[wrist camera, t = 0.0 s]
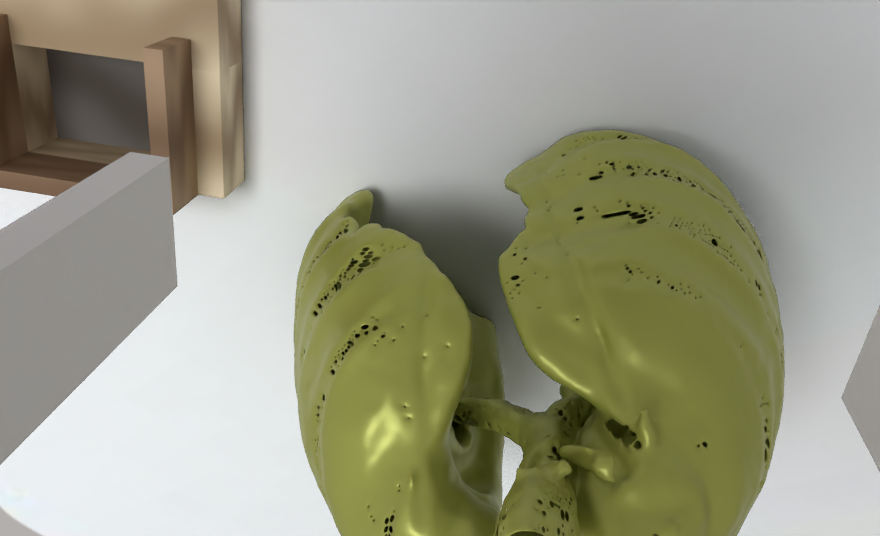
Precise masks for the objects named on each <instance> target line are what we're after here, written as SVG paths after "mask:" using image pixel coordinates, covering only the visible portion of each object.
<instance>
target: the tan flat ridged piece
mask: <svg viewBox="0 0 880 536" xmlns="http://www.w3.org/2000/svg"><path fill="white" fill-rule="evenodd" d="M129 152H135V153H141V154H148V155H154V156H161V157H168V158H169V167H170V182H171V197H172V212H173V215H174V214H175V213H176V212H178V211H179V210H180V209H181V208H183V207H184V206H185V205H186V204H187V203H189V202H190V201H191V200H192V199H194V198H195V197H196V196H197V195H204V196H210V197H217V198H223V199H224V198H225V197H226V196H227V195H229V194H230V193H231V192H232V191H233V190H234V189H235V188H236V187H238V186H239V185H240V184H241V183H242V182H243V181H244V130H243V79H242V28H241V0H0V188H6V189H13V190H19V191H25V192H32V193H38V194H44V195H51V196H58V195H59V194H61V193H63V192H64V191H66V190H68V189H69V188H71V187H73V186H74V185H76V184H78V183H79V182H81V181H83V180H84V179H86V178H88V177H89V176H91V175H93V174H94V173H96V172H98V171H99V170H101V169H103V168H104V167H106V166H108V165H109V164H111V163H113V162H114V161H116V160H118V159H119V158H121V157H123V156H124V155H126V154H128V153H129Z"/></svg>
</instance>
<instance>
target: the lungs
mask: <svg viewBox="0 0 880 536" xmlns="http://www.w3.org/2000/svg"><path fill="white" fill-rule="evenodd" d="M621 139H624V140H621ZM585 159H586V160H585ZM606 163H607V164H606ZM599 164H600V165H599ZM609 164H610V165H609ZM613 164H614V165H613ZM628 164H629V165H630V166H632V168H633V170H632V168H631V169H627V166H628V167H629V165H628ZM614 169H615V170H614ZM599 173H601V175H599ZM655 174H656V175H655ZM601 176H602V177H601ZM504 184H505V187H506V188H507V189H508V190H510V191H513V192H515V193H517V194H519V195H520V197H521V200H522V202H523V203H524V204H525V206H527V208H528V209H529V211H528V213H527V216H526V218H525V227H526V228H525V229H524V230H523V231H522V232H520V233H519V234H518V235H517V237H516V238H515V239H514V241H513V242H512V244H511V245H510V246H509V247H508V249H507V250H506V251H504V252H503V253H502V254H501V255H500V257H499V260H498V270H499V279H500V283H501V286H502V290H503V292H504V295H505V299H506V301H507V306H508V308H509V311H510V313H511V315H512V318H513V320H514V323H515V326H516V329H517V331H518V334H519V336H520V338H521V341H522V343H523V345H524V348H525V350H526V352H527V353H528V355H529V357H530V358H531V359H532V361H533V362H534V363H535V364H536V365H537V366H538V367H539V368H540V369H541V370H542V371H543V372H544V373H545V374H546V375H548V376H549V377H550V378H551V379H553V380H554V381H556V382H558V383H559V384H561V387H560V395H561V397H562V399H560V400H558V401H556V402H554V403H553V404H552V405H551V406H550V407H549V408H548V410H547V411H545V412H534V413H533V412H531V411H530V410H528V409H526V408H522V407H519V406H516V405H513V404H511V403H509V402H508V401H505V395H504V388H503V375H502V370H501V365H500V361H499V357H498V348H497V335H496V328H495V325H494V324H493V322H491V321H490V320H488V319H486V318H483V317H479V316H477V315H475V314H473V313H471V312H470V311H469V310H468V309H467V307H466V304H465V303H464V301H463V299H462V298H461V296H460V295H459V293H458V292H457V290H456V289H455V287H454V285H453V284H452V282H451V281H450V280H449V279H448V277H447V276H446V275H445V274H443V273H441V271H440V270H439V268H438V267H437V266H436V264H435V263H434V262H433V261H432V260H431V259H429V258H428V257H427V256H426V255H425V253H424V251H423V247H422V246H421V244H420V243H419V242H417V241H415V240H413V239H411V238H409V237H408V236H407V235H406V234H403V233H401V232H399V231H397V230H395V229H390V228H382V226H381V225H380V224H377V223H370V224H369V221H370V216H371V212H372V207H373V200H374V198H373V195H372V193H371V192H370V191H368V190H361V191H358V192H355V193H354V194H352V195H351V196H349V197H347V198H346V199H345V200H344V201H343V202H342V203H341V204H340V205H339V206H338V207H337V208H336V210H335V211H333V212H332V213H331V214H330V215H329V216H328V217H327V218H326V219H325V220H324V221H323V222H322V223H321V225H320V226H319V227H318V228H317V229H316V231H315V233H314V234H313V236H312V238H311V240H310V241H309V243H308V245H307V248H306V250H305V253H304V256H303V259H302V262H301V266H300V270H299V273H298V279H297V289H296V299H295V319H294V348H295V354H294V357H295V363H294V374H295V387H296V393H297V399H298V413H299V421H300V429H301V436H302V441H303V445H304V449H305V452H306V455H307V458H308V462H309V465H310V468H311V470H312V472H313V474H314V477H315V479H316V482H317V485H318V487H319V489H320V491H321V493H322V495H323V497H324V499H325V501H326V503H327V505H328V507H329V510H330V512H331V514H332V516H333V519H334V522H335V524H336V526H337V528H338V531H339V533H340V535H341V536H737V534H738V533H739V531H740V529H741V527H742V525H743V522H744V521H745V519H746V517H747V515H748V513H749V511H750V509H751V507H752V506H753V504H754V502H755V500H756V498H757V496H758V495H759V493H760V491H761V489H762V487H763V485H764V483H765V480H766V476H767V472H768V469H769V466H770V462H771V459H772V455H773V450H774V445H775V440H776V436H777V433H778V429H779V425H780V418H781V412H782V405H783V396H784V375H785V371H784V345H783V330H782V326H781V321H780V312H779V305H778V299H777V294H776V290H775V288H774V285H773V283H772V279H771V276H770V272H769V268H768V263H767V259H766V255H765V253H764V251H763V248H762V245H761V242H760V240H759V238H758V236H757V233H756V232H755V230H754V228H753V226H752V224H751V223H750V221H749V220H748V218H747V217H746V216H745V214H744V212H743V211H742V209H741V207H740V205H739V204H738V202H737V201H736V199H735V198H734V196H733V195H732V194H731V192H730V191H729V190H728V188H727V187H726V186H725V185H724V184H723V183H722V181H721V180H720V179H719V178H718V177H717V176H716V175H715V174H714V173H713V172H712V171H711V170H710V169H708V168H707V167H706V166H705V165H703V164H702V163H701V162H700V161H699V160H697V159H696V158H695V157H693V156H691V155H690V154H688V153H687V152H685V151H684V150H681V149H679V148H677V147H674V146H671V145H669V144H665V143H662V142H660V141H657V140H654V139H651V138H649V137H646V136H644V135H640V134H634V133H629V132H625V131H619V130H601V131H584V132H580V133H576V134H572V135H569V136H566V137H563V138H562V139H560V140H559V141H558V142H556V143H555V144H554V145H553V146H551V147H550V148H548V149H547V150H546V151H544V152H543V153H542V154H540V155H539V156H537V157H534V158H532V159H530V160H528V161H526V162H524V163H523V164H521V165H520V166H519V167H517V168H516V169H514V170H513V171H511V172H510V173H509V174H508V175H507V177H506V178H505V181H504ZM648 213H652V214H648ZM645 215H646V216H645ZM397 249H398V250H397ZM558 411H559V412H558ZM504 436H505V437H508V438H510V439H511V440H512V441H513V442H515V443H516V444H518V445H519V446H521V448H522V450H523V460H522V462H521V463H520V465H519V468H518V469H517V474H516V479H515V482H514V484H513V485H512V487H511V489H510V491H509V493H508V495H507V496H506V498H505V500H504V502H503V505H502V457H503V448H504ZM504 505H505V506H504ZM501 507H502V509H501ZM508 509H509V510H508ZM500 510H501V511H500Z"/></svg>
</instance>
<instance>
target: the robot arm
mask: <svg viewBox="0 0 880 536" xmlns="http://www.w3.org/2000/svg"><path fill="white" fill-rule="evenodd" d="M176 287H177V272H176V257H175V242H174V227H173V212H172V197H171V182H170V167H169V158H168V157H161V156H154V155H148V154H141V153H135V152H129V153H128V154H126V155H124V156H123V157H121V158H119V159H118V160H116V161H114V162H113V163H111V164H109V165H108V166H106V167H104V168H103V169H101V170H99V171H98V172H96V173H94V174H93V175H91V176H89V177H88V178H86V179H84V180H83V181H81V182H79V183H78V184H76V185H74V186H73V187H71V188H69V189H68V190H66V191H64V192H63V193H61V194H59V195H58V196H56V197H54V198H53V199H51V200H49V201H48V202H46V203H44V204H43V205H41V206H39V207H38V208H36V209H34V210H33V211H31V212H29V213H28V214H26V215H24V216H23V217H21V218H19V219H18V220H16V221H14V222H13V223H11V224H9V225H8V226H6V227H4V228H3V229H1V230H0V465H1V464H2V462H3V461H4V460H5V459H6V458H7V457H8V456H9V455H10V454H11V453H12V452H13V451H14V450H15V449H16V448H17V447H18V446H19V445H20V444H21V443H22V442H23V441H24V440H25V439H26V438H27V437H28V436H29V435H30V434H31V433H32V432H33V431H34V430H35V429H36V428H37V427H38V426H39V425H40V424H41V423H42V422H43V421H44V420H45V419H46V418H47V417H48V416H49V415H50V414H51V413H52V412H53V411H54V410H55V409H56V408H57V407H58V406H59V405H60V404H61V403H62V402H63V401H64V400H65V399H66V398H67V397H68V396H69V395H70V394H71V393H72V392H73V391H74V390H75V389H76V388H77V387H78V386H79V385H80V384H81V383H82V382H83V381H84V380H85V379H86V378H87V377H88V376H89V375H90V374H91V373H92V372H93V371H94V370H95V369H96V368H97V367H98V366H99V365H100V364H101V363H102V362H103V361H104V360H105V359H106V358H107V357H108V356H109V355H110V354H111V352H112V351H113V350H114V349H115V348H116V347H117V346H118V345H119V344H120V343H121V342H122V341H123V340H124V339H125V338H126V337H127V336H128V335H129V334H130V333H131V332H132V331H133V330H134V329H135V328H136V327H137V326H138V325H139V324H140V323H141V322H142V321H143V320H144V319H145V318H146V317H147V316H148V315H149V314H150V313H151V312H152V311H153V310H154V309H155V308H156V307H157V306H158V305H159V304H160V303H161V302H162V301H163V300H164V299H165V298H166V297H167V296H168V295H169V294H170V293H171V292H172V291H173V290H174V289H175V288H176ZM841 398H842V400H843V402H844V404H845V406H846V408H847V410H848V412H849V414H850V415H851V417H852V419H853V421H854V423H855V425H856V427H857V429H858V431H859V433H860V435H861V437H862V439H863V441H864V442H865V444H866V446H867V448H868V450H869V452H870V454H871V456H872V458H873V460H874V462H875V464H876V466H877V468H878V469H879V471H880V306H879V309H878V311H877V314H876V316H875V318H874V321H873V323H872V325H871V328H870V330H869V333H868V335H867V337H866V340H865V342H864V345H863V347H862V349H861V352H860V354H859V357H858V359H857V361H856V364H855V366H854V369H853V371H852V373H851V376H850V378H849V381H848V383H847V385H846V388H845V390H844V393H843V395H842V397H841Z"/></svg>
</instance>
